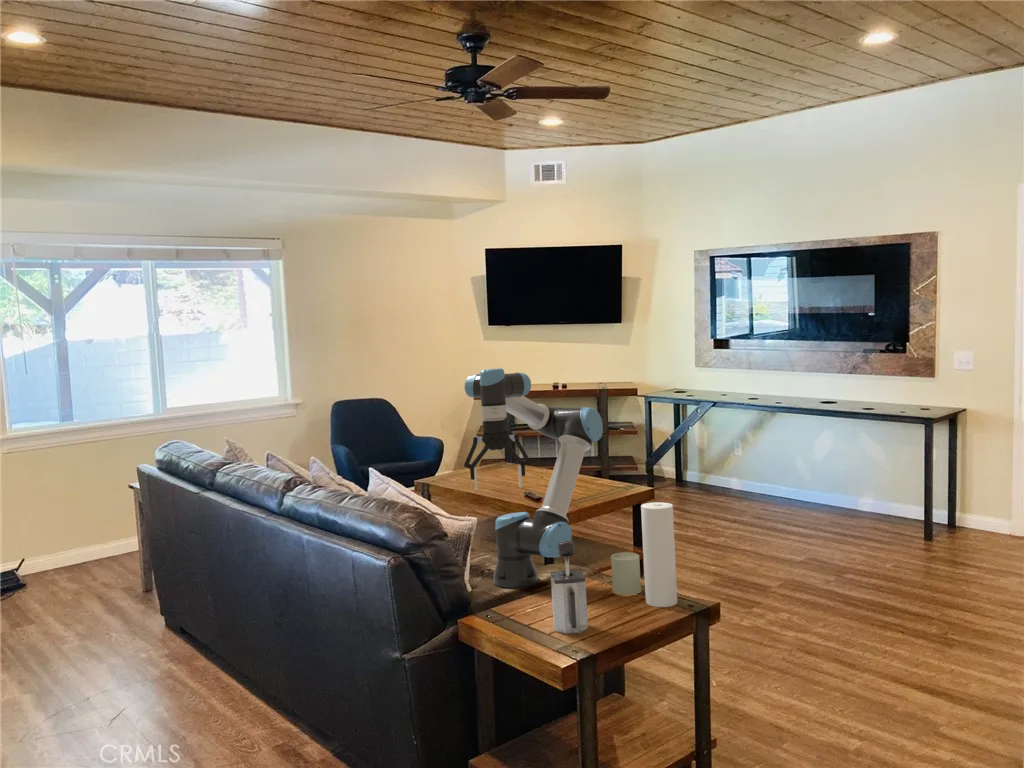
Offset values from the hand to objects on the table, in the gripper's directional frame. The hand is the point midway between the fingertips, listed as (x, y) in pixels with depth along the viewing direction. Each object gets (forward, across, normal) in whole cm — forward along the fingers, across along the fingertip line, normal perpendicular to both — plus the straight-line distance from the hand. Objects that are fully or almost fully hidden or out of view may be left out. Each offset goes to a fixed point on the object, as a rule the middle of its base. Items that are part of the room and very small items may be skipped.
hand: (498, 488), depth 234 cm
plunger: (+33, +17, -22) cm, 43 cm away
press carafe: (+37, +17, -23) cm, 47 cm away
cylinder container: (+37, +47, -7) cm, 60 cm away
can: (+37, +39, +5) cm, 54 cm away
